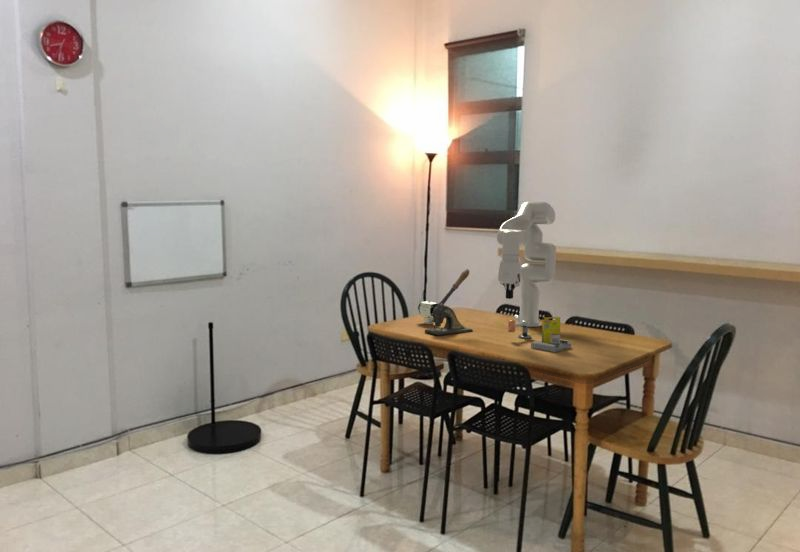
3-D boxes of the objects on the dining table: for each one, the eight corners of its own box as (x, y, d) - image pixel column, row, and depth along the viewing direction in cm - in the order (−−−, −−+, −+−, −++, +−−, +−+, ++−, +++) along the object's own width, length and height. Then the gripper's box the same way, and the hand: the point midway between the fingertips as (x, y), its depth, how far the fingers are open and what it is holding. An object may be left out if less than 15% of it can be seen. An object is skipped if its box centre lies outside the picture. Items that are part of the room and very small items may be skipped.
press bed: (530, 347, 283) (531, 341, 283) (546, 343, 293) (547, 336, 292) (555, 352, 275) (555, 345, 275) (571, 347, 284) (571, 341, 284)
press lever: (505, 331, 297) (505, 320, 296) (523, 327, 307) (524, 316, 307) (513, 332, 294) (514, 321, 293) (531, 328, 304) (532, 317, 304)
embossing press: (423, 332, 314) (424, 270, 310) (461, 327, 327) (463, 268, 323) (436, 336, 304) (437, 272, 301) (475, 331, 317) (477, 270, 314)
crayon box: (558, 342, 285) (559, 316, 284) (560, 343, 283) (561, 317, 281) (541, 342, 285) (542, 315, 284) (542, 343, 283) (544, 317, 281)
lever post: (515, 337, 305) (516, 325, 304) (522, 335, 309) (523, 324, 308) (526, 339, 301) (527, 327, 300) (533, 337, 305) (534, 325, 304)
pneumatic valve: (423, 321, 342) (424, 298, 340) (440, 324, 333) (440, 301, 332) (416, 322, 338) (416, 299, 337) (432, 326, 330) (432, 302, 328)
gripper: (492, 257, 300) (491, 297, 302) (517, 260, 288) (516, 301, 290) (503, 256, 304) (502, 295, 306) (528, 259, 293) (527, 299, 295)
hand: (509, 298), depth 298 cm, fingers closed
